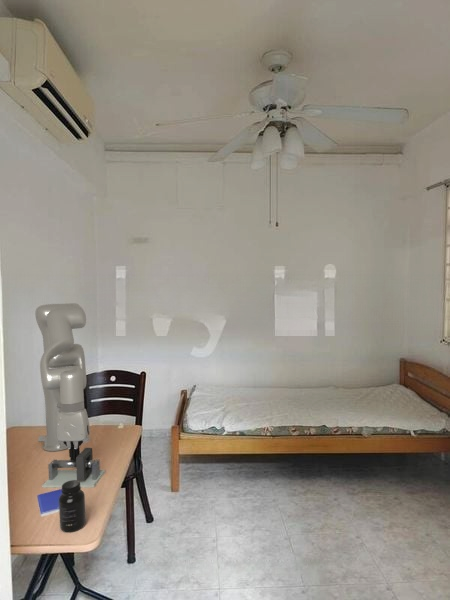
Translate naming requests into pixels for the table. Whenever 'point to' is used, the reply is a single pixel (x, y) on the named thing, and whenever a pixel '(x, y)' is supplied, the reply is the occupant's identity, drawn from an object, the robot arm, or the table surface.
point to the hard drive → (49, 502)
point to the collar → (83, 464)
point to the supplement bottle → (72, 507)
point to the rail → (72, 464)
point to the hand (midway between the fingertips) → (74, 458)
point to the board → (71, 475)
